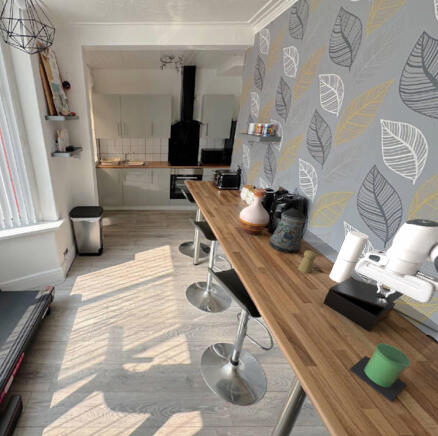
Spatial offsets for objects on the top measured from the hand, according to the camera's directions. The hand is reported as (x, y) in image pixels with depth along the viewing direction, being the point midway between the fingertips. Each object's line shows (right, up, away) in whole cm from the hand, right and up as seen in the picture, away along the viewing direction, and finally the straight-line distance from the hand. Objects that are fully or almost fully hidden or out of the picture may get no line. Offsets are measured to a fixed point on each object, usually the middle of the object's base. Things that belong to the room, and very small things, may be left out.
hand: (382, 294), depth 86 cm
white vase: (-16, +19, +74) cm, 78 cm away
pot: (-17, -20, -16) cm, 30 cm away
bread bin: (-3, -10, +9) cm, 14 cm away
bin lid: (-2, -1, +5) cm, 5 cm away
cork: (-6, +1, +35) cm, 35 cm away
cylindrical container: (+6, -2, +28) cm, 29 cm away
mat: (-17, -20, -15) cm, 30 cm away
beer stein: (-4, +11, +57) cm, 58 cm away
